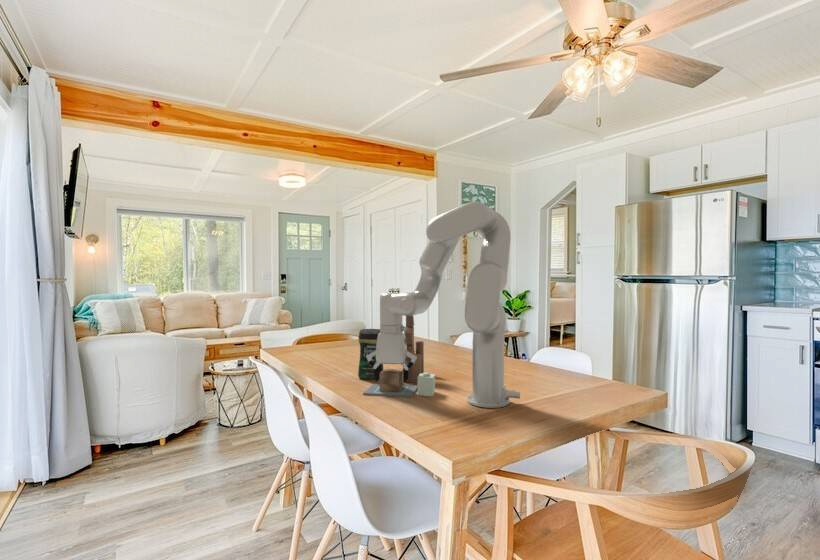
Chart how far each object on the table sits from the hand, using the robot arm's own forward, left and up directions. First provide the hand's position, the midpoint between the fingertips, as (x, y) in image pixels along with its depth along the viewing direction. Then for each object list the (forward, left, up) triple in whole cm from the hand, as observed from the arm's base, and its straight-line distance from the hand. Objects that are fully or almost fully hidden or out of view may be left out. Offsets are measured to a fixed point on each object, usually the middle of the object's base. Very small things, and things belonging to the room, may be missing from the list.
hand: (391, 380), depth 142 cm
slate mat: (0, 0, -3) cm, 3 cm away
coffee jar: (+12, -17, -4) cm, 21 cm away
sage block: (-12, +1, -4) cm, 13 cm away
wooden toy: (-4, -20, -4) cm, 21 cm away
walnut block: (0, 0, -3) cm, 3 cm away
